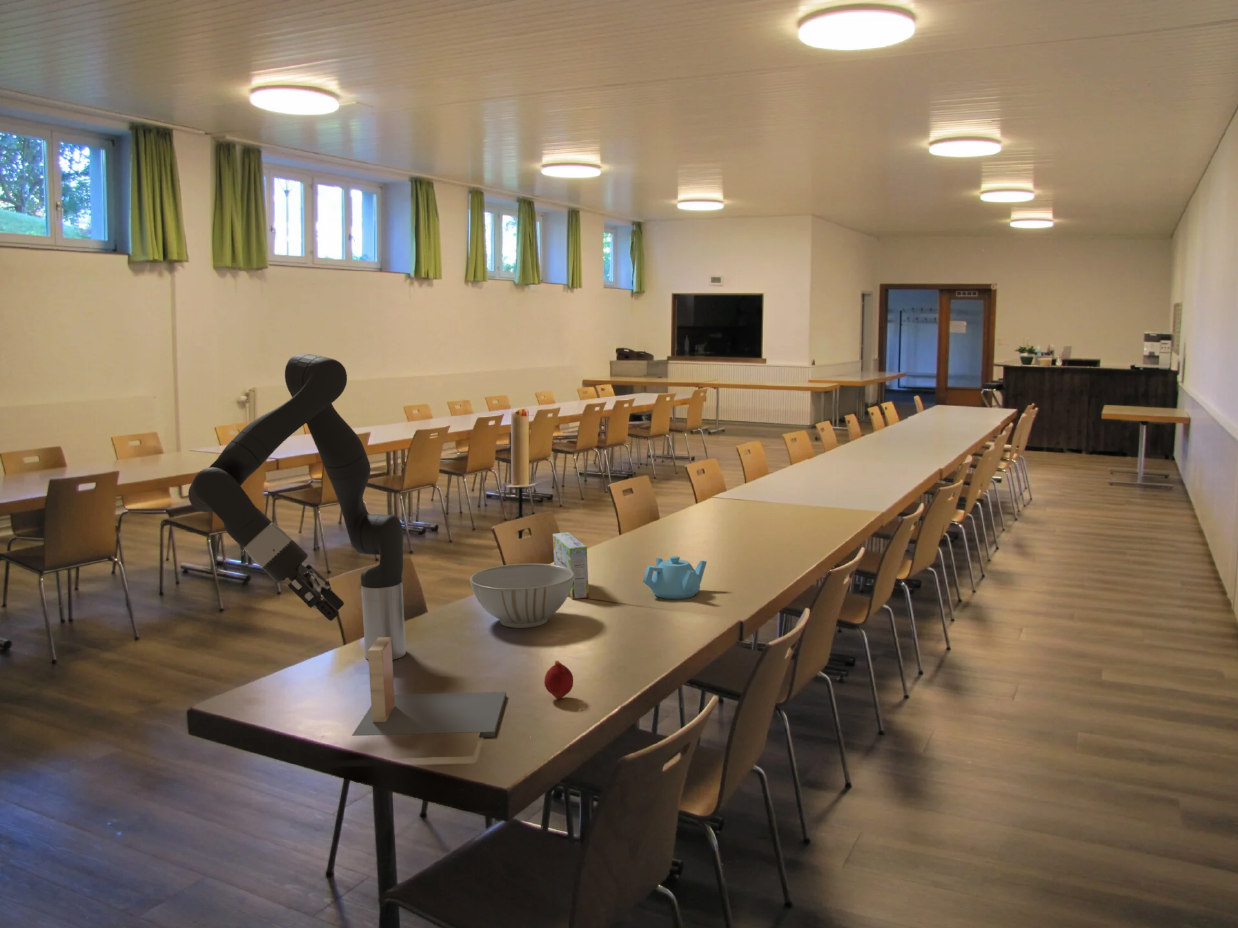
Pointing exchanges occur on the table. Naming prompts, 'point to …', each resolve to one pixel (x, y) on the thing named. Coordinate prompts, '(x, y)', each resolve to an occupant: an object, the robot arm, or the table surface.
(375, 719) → the wooden block
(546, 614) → the decorative bowl
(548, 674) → the onion
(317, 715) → the table surface
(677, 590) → the teapot
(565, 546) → the snack box
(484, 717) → the mat
